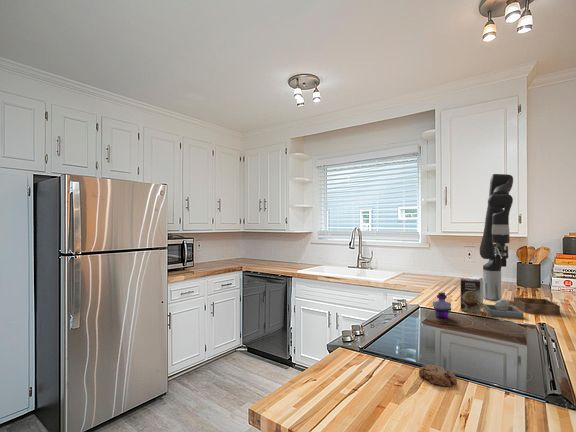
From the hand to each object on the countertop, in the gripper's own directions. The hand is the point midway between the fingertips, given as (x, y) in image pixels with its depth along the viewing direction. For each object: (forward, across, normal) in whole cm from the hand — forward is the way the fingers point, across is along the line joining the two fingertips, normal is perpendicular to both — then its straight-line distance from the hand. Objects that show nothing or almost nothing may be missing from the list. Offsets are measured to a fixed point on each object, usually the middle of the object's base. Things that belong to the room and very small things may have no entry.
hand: (500, 265), depth 163 cm
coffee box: (+25, -2, -14) cm, 28 cm away
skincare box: (+25, -19, -8) cm, 32 cm away
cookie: (+25, +83, -40) cm, 96 cm away
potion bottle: (+25, +15, -30) cm, 41 cm away
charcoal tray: (+24, 0, 0) cm, 24 cm away
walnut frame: (+24, -13, +19) cm, 34 cm away
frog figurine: (+24, 0, 0) cm, 24 cm away
